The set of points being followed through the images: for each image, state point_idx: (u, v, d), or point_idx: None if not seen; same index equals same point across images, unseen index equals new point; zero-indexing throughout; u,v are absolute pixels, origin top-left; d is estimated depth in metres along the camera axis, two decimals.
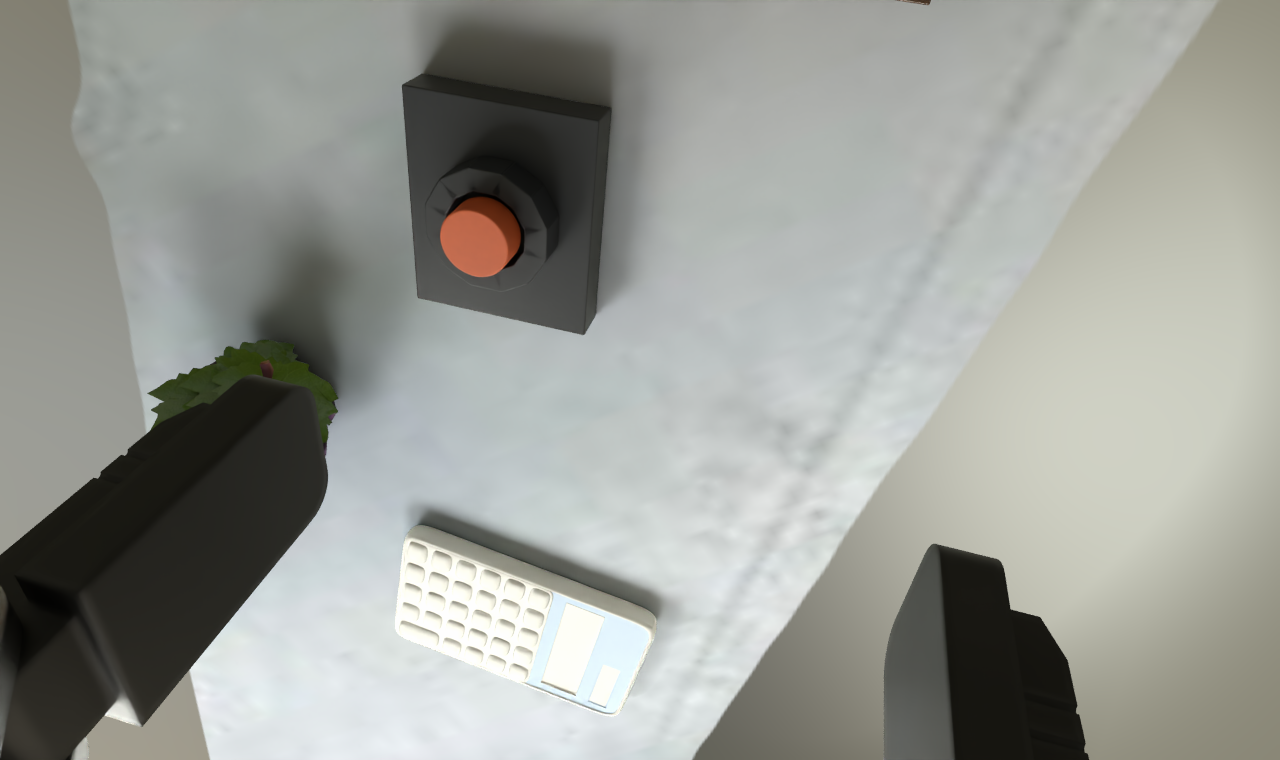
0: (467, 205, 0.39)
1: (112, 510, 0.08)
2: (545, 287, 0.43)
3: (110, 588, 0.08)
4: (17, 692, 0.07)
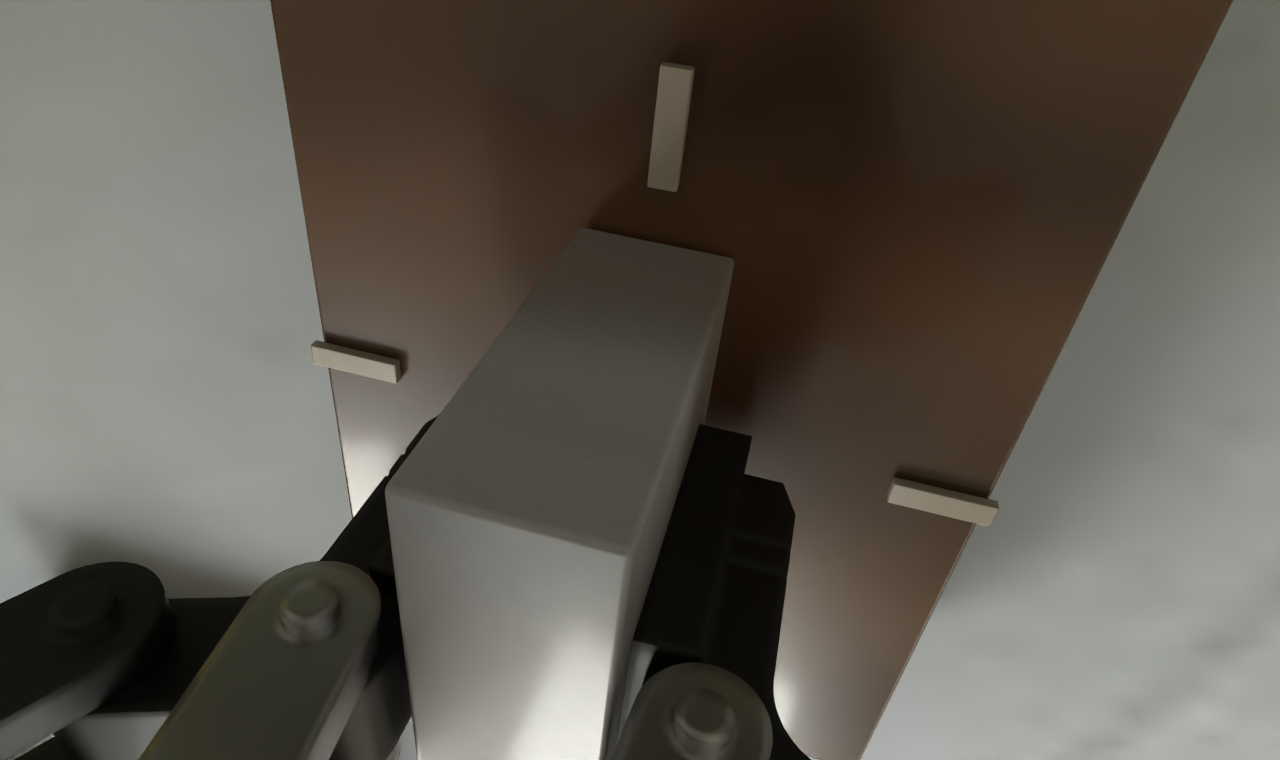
0: None
1: None
2: None
3: None
4: (386, 676, 0.08)
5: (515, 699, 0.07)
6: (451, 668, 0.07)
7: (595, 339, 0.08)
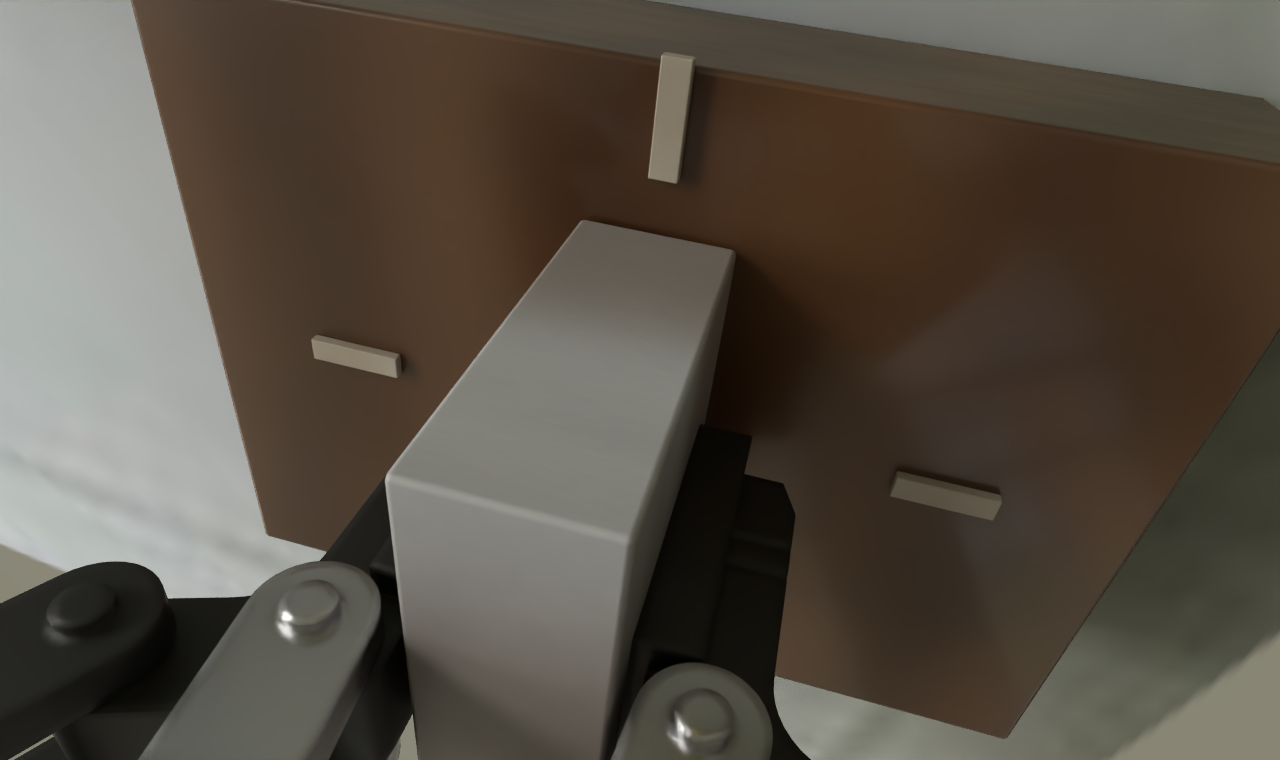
0: None
1: None
2: None
3: None
4: (384, 676, 0.08)
5: (515, 691, 0.07)
6: (452, 659, 0.07)
7: (597, 330, 0.08)
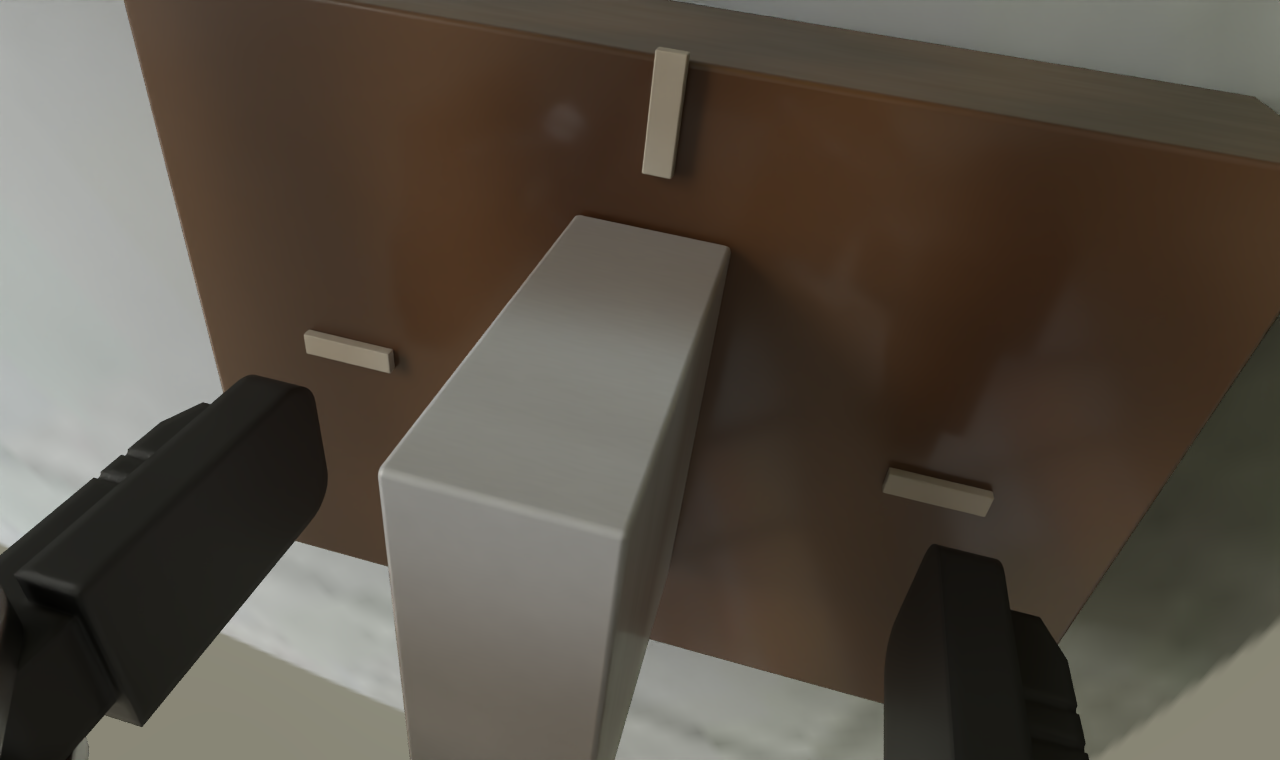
0: None
1: (112, 510, 0.08)
2: None
3: (110, 588, 0.08)
4: (19, 692, 0.07)
5: (508, 685, 0.07)
6: (444, 654, 0.07)
7: (591, 325, 0.08)
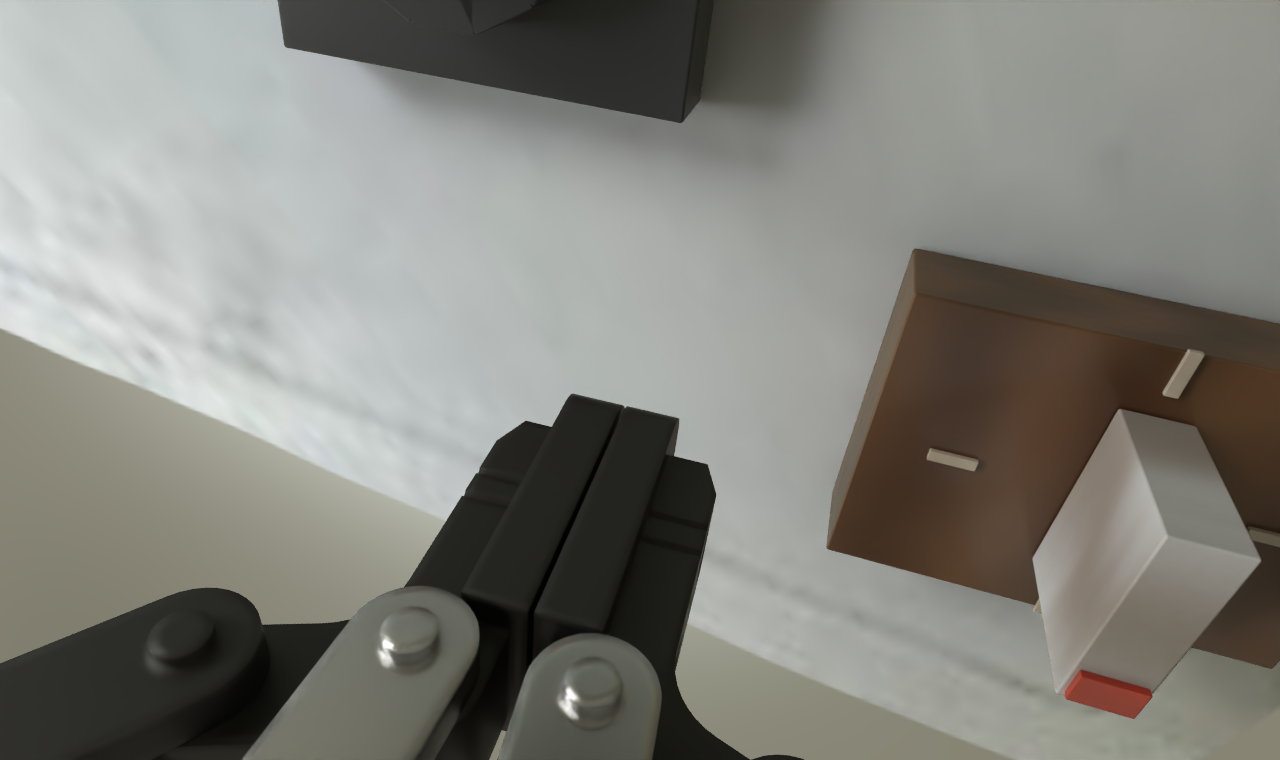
0: None
1: (518, 529, 0.08)
2: None
3: (537, 604, 0.08)
4: (482, 705, 0.07)
5: (1168, 616, 0.19)
6: (1144, 603, 0.19)
7: (1179, 473, 0.20)
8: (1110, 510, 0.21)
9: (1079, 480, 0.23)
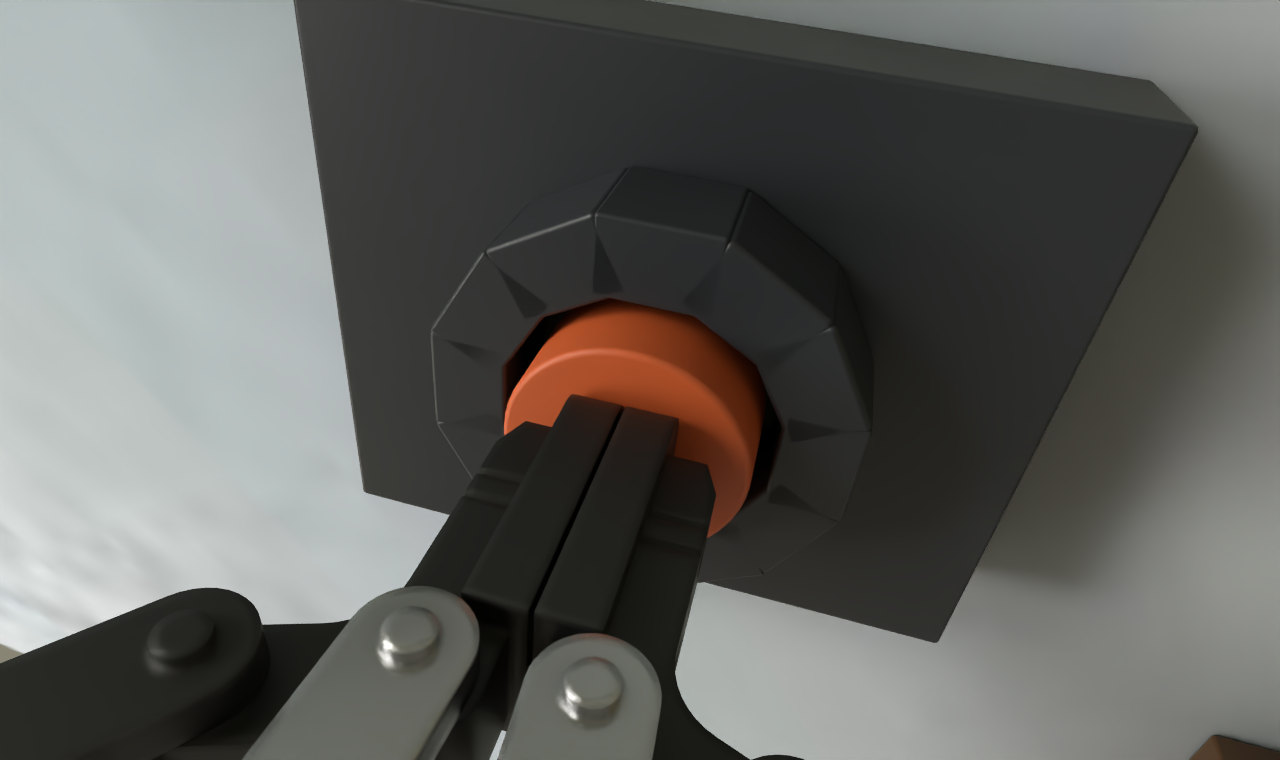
0: (755, 439, 0.11)
1: (518, 528, 0.08)
2: None
3: (537, 604, 0.08)
4: (481, 704, 0.07)
5: None
6: None
7: None
8: None
9: None
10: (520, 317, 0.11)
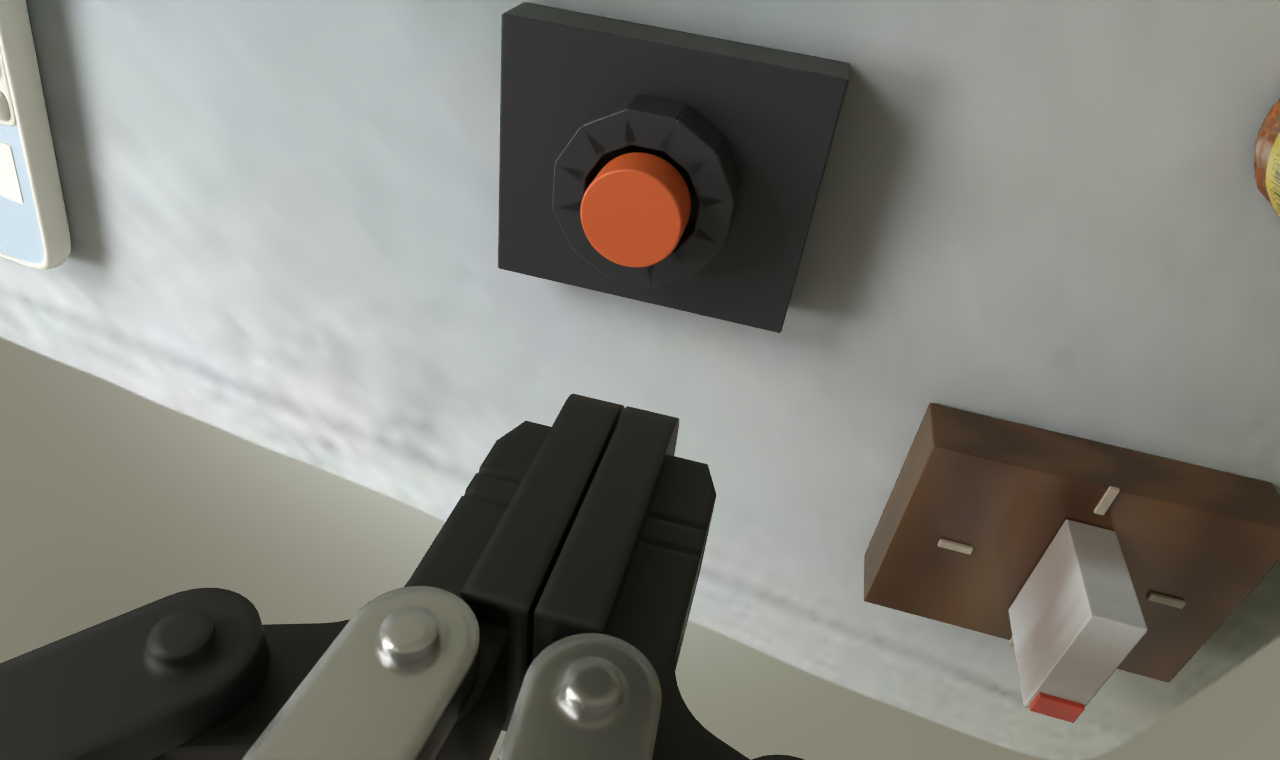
0: (684, 211, 0.27)
1: (518, 529, 0.08)
2: (558, 231, 0.32)
3: (537, 604, 0.08)
4: (482, 705, 0.07)
5: (1094, 661, 0.30)
6: (1079, 653, 0.30)
7: (1102, 568, 0.31)
8: (1059, 589, 0.32)
9: (1040, 562, 0.34)
10: (594, 154, 0.28)
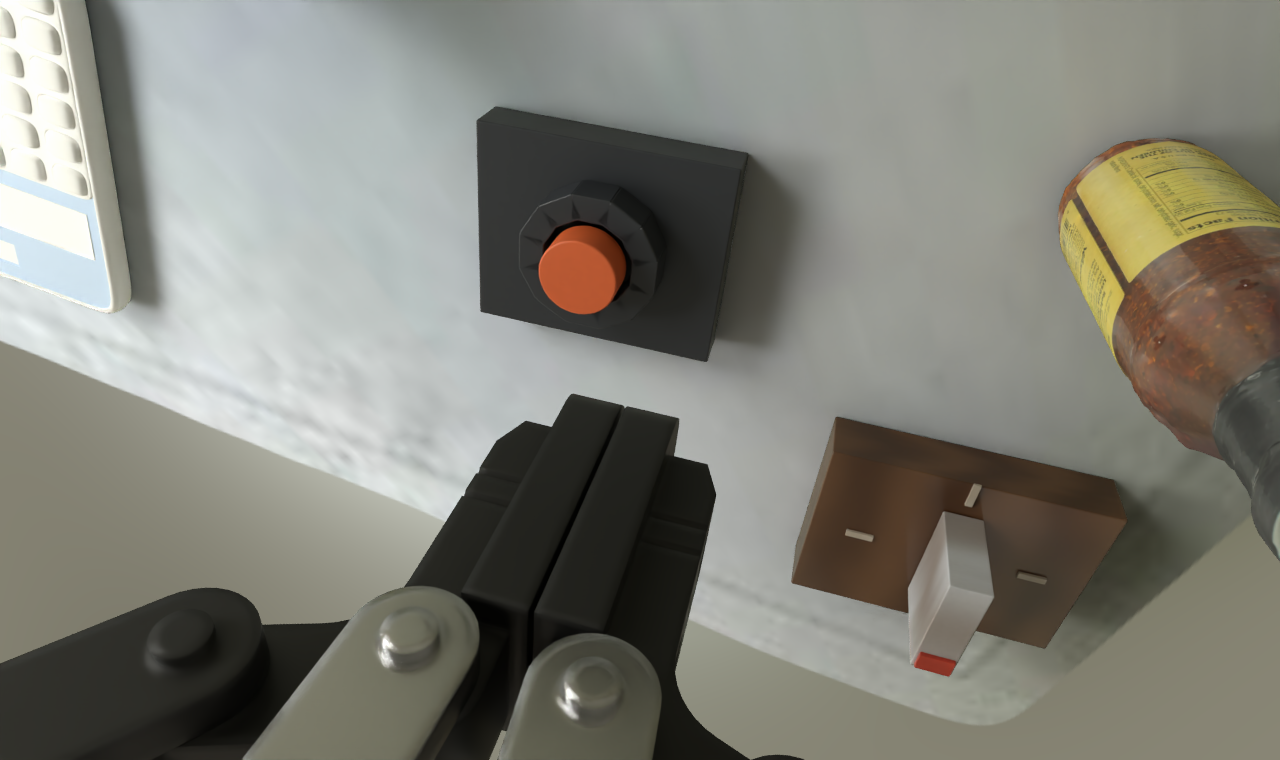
0: (618, 271, 0.35)
1: (518, 529, 0.08)
2: (527, 282, 0.40)
3: (537, 604, 0.08)
4: (480, 705, 0.07)
5: (957, 623, 0.38)
6: (945, 617, 0.38)
7: (966, 549, 0.38)
8: (935, 567, 0.39)
9: (927, 547, 0.42)
10: (549, 227, 0.36)
